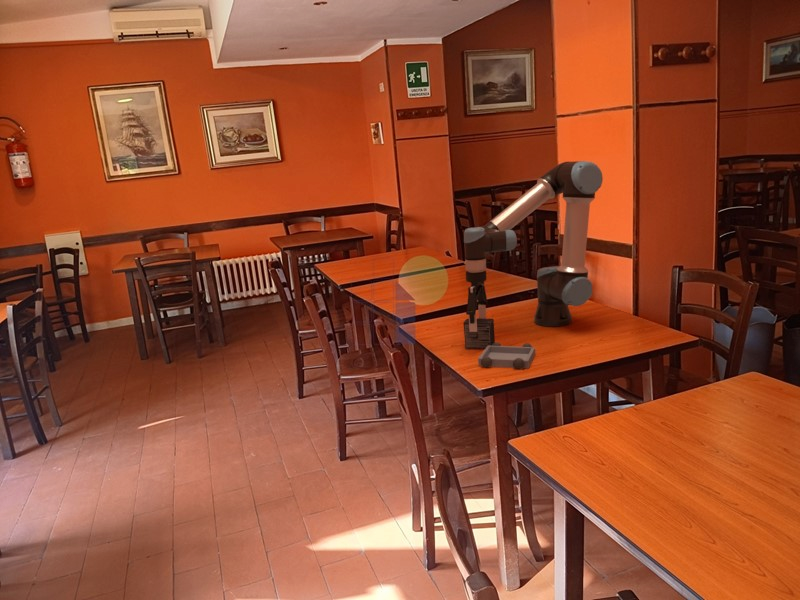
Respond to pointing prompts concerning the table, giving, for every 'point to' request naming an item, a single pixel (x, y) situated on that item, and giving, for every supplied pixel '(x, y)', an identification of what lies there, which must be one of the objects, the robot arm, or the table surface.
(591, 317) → the table surface
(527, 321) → the table surface
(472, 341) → the small box
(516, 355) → the chassis bay
